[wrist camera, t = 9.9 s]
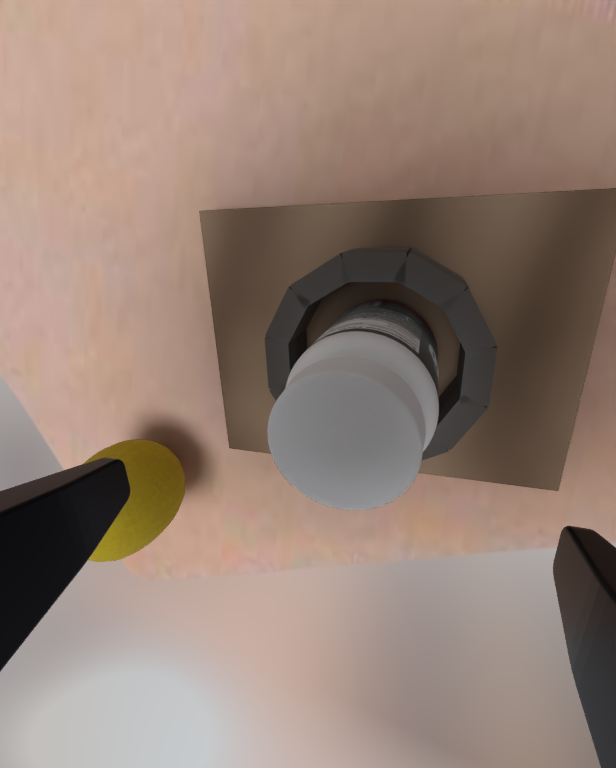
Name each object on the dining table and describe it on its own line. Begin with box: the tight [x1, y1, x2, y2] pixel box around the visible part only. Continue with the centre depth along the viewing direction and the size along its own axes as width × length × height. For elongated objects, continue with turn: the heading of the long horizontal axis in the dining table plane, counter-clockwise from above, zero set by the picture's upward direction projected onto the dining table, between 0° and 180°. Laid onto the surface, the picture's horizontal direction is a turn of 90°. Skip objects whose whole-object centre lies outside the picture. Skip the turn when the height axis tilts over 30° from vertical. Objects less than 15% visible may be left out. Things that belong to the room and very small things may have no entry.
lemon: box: [84, 439, 185, 562], centre depth 21 cm, size 6×6×8 cm
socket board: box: [199, 188, 616, 491], centre depth 17 cm, size 16×12×4 cm
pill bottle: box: [267, 300, 439, 510], centre depth 14 cm, size 5×5×8 cm
